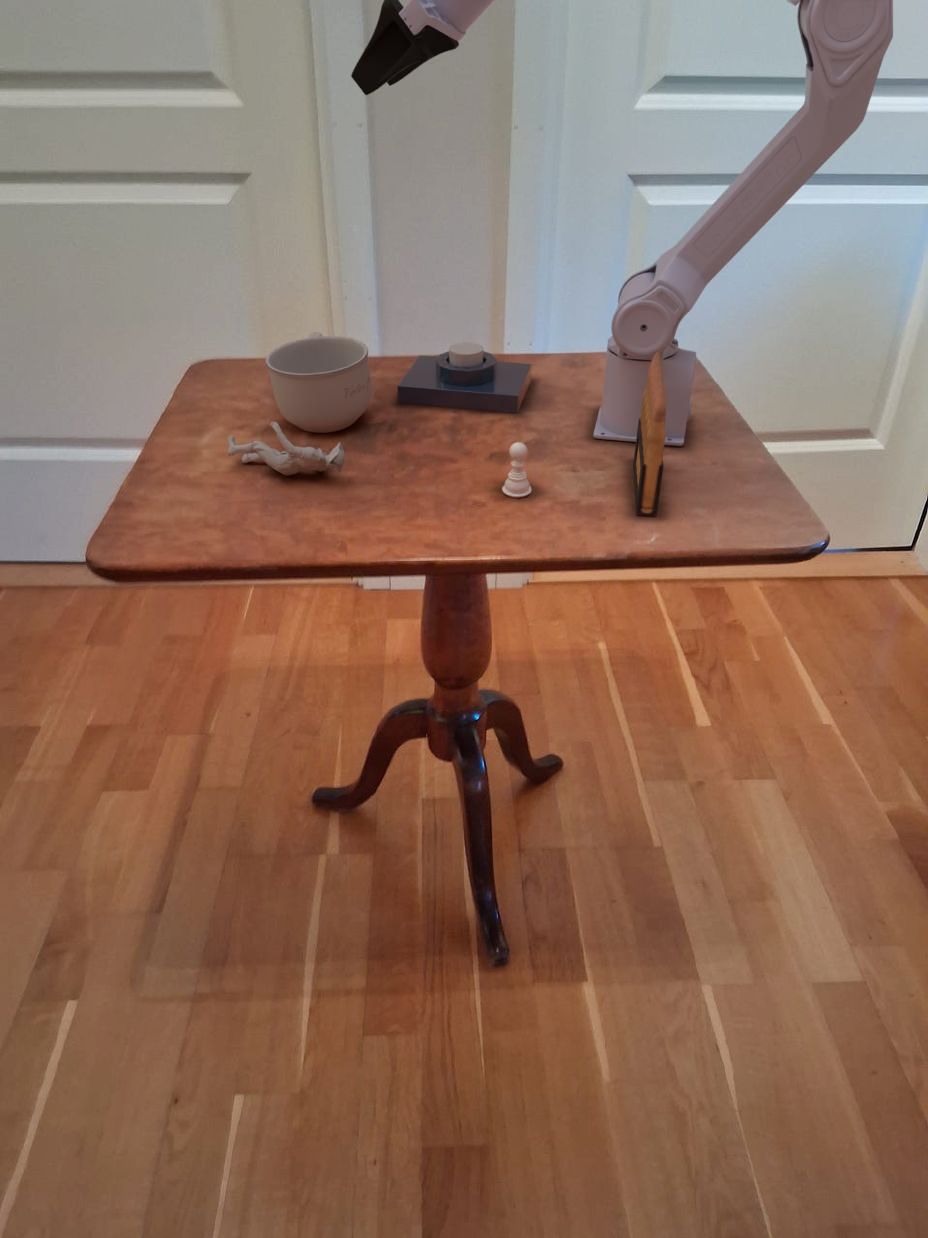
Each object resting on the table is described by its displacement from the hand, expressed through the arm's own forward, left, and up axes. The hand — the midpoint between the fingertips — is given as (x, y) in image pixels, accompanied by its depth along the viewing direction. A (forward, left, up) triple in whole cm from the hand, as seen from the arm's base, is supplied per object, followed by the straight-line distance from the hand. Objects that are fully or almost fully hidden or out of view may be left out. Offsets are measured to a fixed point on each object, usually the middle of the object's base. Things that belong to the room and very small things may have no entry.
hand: (371, 80), depth 84 cm
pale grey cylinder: (-8, -6, -29) cm, 30 cm away
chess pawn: (-18, +17, -32) cm, 41 cm away
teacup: (+6, +4, -32) cm, 33 cm away
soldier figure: (+5, +18, -32) cm, 38 cm away
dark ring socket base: (-8, -6, -32) cm, 34 cm away
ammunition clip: (-30, +14, -32) cm, 46 cm away
